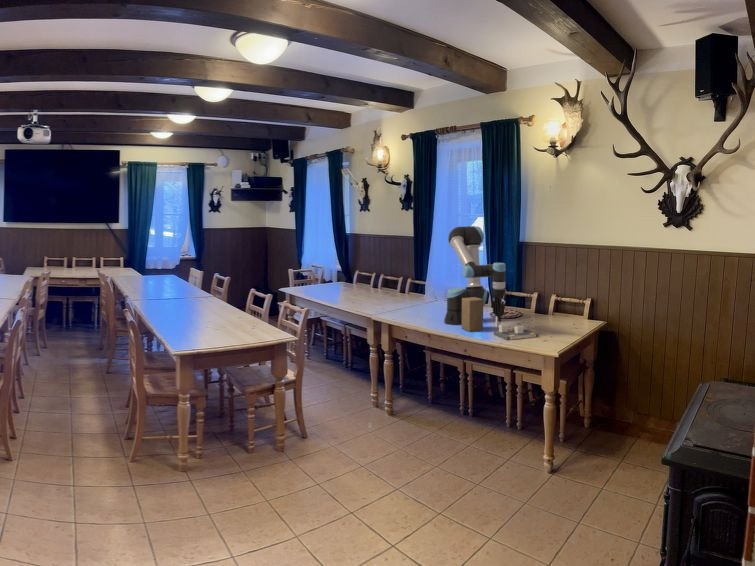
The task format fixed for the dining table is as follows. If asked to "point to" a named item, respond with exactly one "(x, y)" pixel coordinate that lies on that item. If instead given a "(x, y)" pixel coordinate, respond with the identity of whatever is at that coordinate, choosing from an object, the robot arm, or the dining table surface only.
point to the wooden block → (472, 314)
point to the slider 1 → (503, 328)
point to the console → (512, 335)
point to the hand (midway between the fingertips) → (498, 326)
